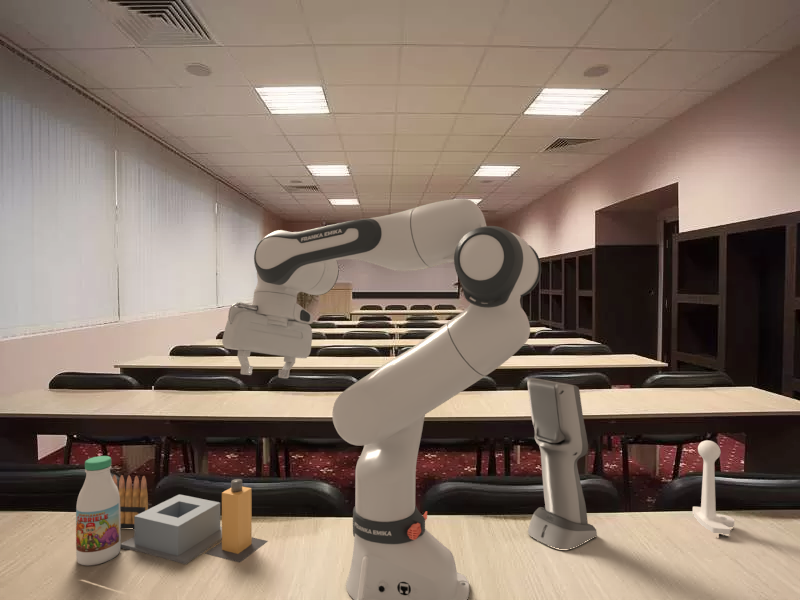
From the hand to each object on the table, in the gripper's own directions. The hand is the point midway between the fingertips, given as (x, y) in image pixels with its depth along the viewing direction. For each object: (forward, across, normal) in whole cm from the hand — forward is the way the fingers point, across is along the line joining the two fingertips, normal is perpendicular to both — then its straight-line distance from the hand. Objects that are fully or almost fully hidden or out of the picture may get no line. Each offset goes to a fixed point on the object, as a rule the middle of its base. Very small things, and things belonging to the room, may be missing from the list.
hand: (265, 376), depth 100 cm
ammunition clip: (+36, -4, +38) cm, 53 cm away
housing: (+36, 0, +22) cm, 43 cm away
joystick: (+26, +77, -71) cm, 108 cm away
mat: (+36, +6, +9) cm, 37 cm away
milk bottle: (+39, -13, +29) cm, 50 cm away
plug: (+36, +6, +9) cm, 37 cm away
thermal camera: (+30, +52, -43) cm, 74 cm away
